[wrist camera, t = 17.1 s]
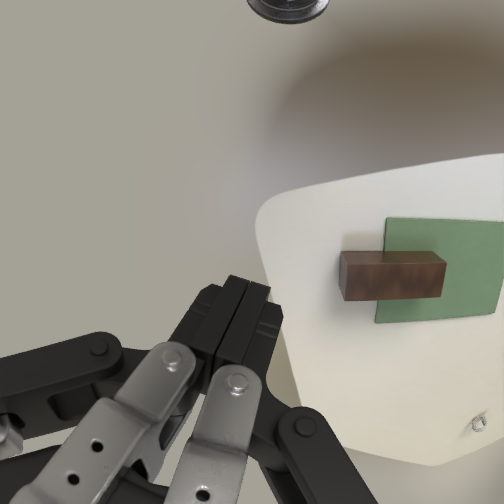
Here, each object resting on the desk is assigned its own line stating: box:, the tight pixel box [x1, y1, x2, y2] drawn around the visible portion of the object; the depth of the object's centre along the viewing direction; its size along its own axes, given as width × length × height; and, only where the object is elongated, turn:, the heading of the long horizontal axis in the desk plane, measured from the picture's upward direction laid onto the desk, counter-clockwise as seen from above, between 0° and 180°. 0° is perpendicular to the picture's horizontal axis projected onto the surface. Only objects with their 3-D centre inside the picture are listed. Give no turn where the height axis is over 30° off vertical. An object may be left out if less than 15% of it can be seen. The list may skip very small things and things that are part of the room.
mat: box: [375, 218, 504, 323], centre depth 40 cm, size 16×24×1 cm, turn 92°
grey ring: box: [472, 416, 487, 432], centre depth 48 cm, size 4×2×4 cm, turn 113°
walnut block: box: [339, 251, 447, 301], centre depth 38 cm, size 5×5×14 cm
